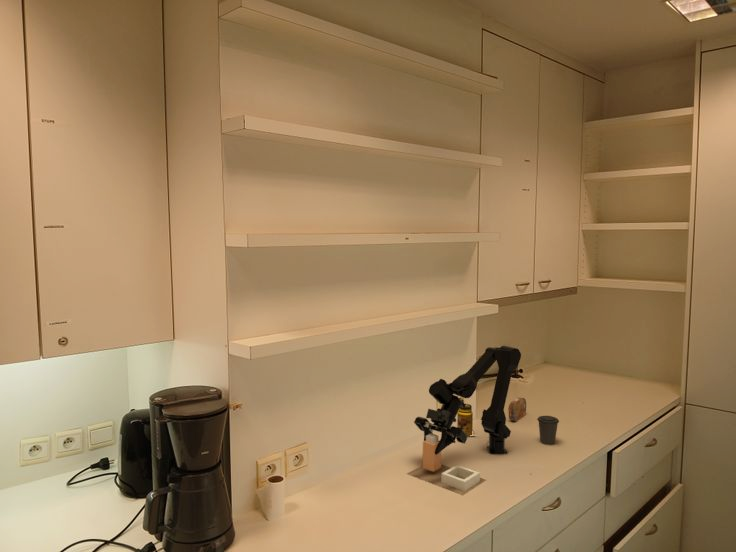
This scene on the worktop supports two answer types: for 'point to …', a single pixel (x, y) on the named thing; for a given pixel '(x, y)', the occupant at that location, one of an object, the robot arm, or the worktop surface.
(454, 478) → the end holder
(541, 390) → the worktop surface
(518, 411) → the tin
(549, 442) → the coffee cup
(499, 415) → the robot arm
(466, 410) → the condiment
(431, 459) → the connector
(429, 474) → the board
